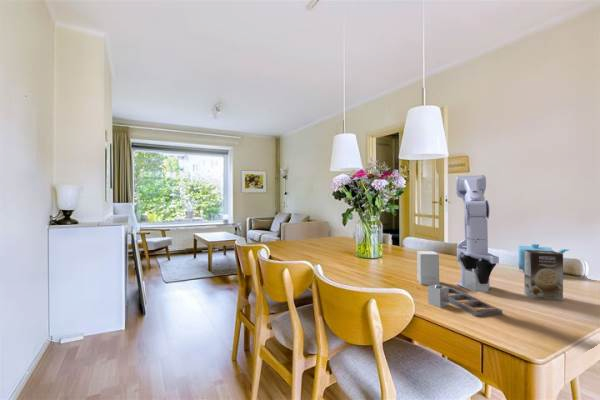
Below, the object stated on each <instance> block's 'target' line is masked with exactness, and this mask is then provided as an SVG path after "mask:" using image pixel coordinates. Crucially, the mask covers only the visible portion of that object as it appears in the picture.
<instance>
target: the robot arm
mask: <svg viewBox="0 0 600 400" xmlns="http://www.w3.org/2000/svg"><path fill="white" fill-rule="evenodd" d="M455 188H456V189H455V190H456V195H457V197H458V198H460V199H462V201H463V219H464V221H463V222H464V223H463V224H464V226H463V227H464V238H463V239H462V240H460V241H458V242H457V244H456V247H457V248H456V260H457V262H458V263H460V282H456V283H455V285H457V286H460V287H462V288H465V269H472V268H478V272H479V281H480V284H488V289H492V287H491V286H490V278H491V277H490V276H491V274H492V271H493V270H494V268H495V267H496V266H497V264H499V263H500V261H499V260H500V257H499V256H497V255H495V254H492V253H489V248H488V247H489V246H488V244H489V243H488V242H489V241H488V240H489V237H488V234H489V233H488V232H489V231H488V219H490V204H489V201H488V200H487V199H485V191H486V188H487V177H486V176H485V174H481V175H457V176H456V177H455ZM465 289H467V288H465ZM467 290H468V289H467Z"/></svg>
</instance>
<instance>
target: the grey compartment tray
mask: <svg viewBox="0 0 600 400" xmlns="http://www.w3.org/2000/svg"><path fill="white" fill-rule="evenodd" d="M449 293H452V294H449V304H452V305H454V306H455V307H457V308H459V309H460V310H463V311H465V312H466V313H469V314H471V315H472V316H474V317H485V316H495V315H497V316H498V315H503V309H501V308H499V307H497V306H494V305H492V304H489V303H488V302H485V301H483V300H481V299H478V298H476V297H474V296H472V295H470V294H468V293H465V292H463V291H460V290H458V289H456V288H454V287H452V286H451V287H449ZM460 299H462V300H463V299H464V300H463V301H459V300H460ZM478 306H479V307H482V308H479V309H477V308H475V307H478Z"/></svg>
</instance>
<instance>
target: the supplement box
mask: <svg viewBox="0 0 600 400" xmlns="http://www.w3.org/2000/svg"><path fill="white" fill-rule="evenodd" d="M416 270H417V271H416V273H417V275H416V276H417V277H416V278H417V281H418V282H419V284H420V285H424V286H425V285H426V286H430V285H434V284H440V254H439V253H437V252H436V251H433V250H432V251H430V250H429V251H427V250H425V251H423V250H420V251H419V250H417V251H416Z"/></svg>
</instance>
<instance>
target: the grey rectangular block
mask: <svg viewBox="0 0 600 400" xmlns="http://www.w3.org/2000/svg"><path fill="white" fill-rule="evenodd" d="M466 288H467V290H468V291H469V290H470V291H471V292H473V293H474V292H475V293H481V292H489V288H488V284H480V281H479V272H478V268H472V269H465V289H466Z"/></svg>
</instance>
